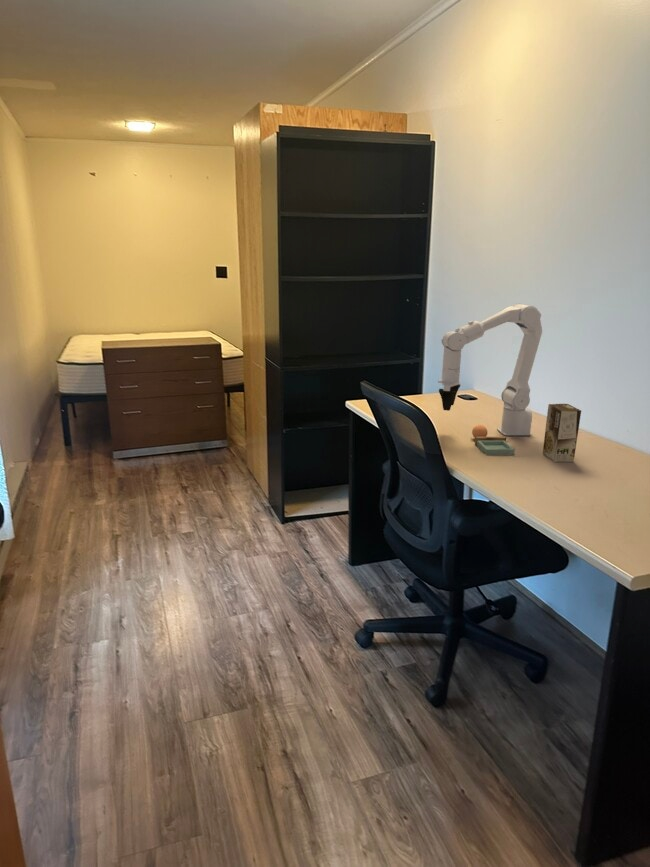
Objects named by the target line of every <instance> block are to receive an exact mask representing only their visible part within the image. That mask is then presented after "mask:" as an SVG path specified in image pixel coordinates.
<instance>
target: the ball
mask: <svg viewBox="0 0 650 867" xmlns="http://www.w3.org/2000/svg"><path fill="white" fill-rule="evenodd" d="M471 434H472V436H473V438H475V437H488V436H487V435H488V429H487V427H486V426H485V425H483V424H478V425H475V426H474V427H472V431H471Z"/></svg>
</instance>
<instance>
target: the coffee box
mask: <svg viewBox="0 0 650 867" xmlns="http://www.w3.org/2000/svg"><path fill="white" fill-rule="evenodd" d="M547 406H548V407H547V415H546V423H545V430H544V431H545V432H544V439H543V448H542V454H543V455H545V456H546V457H548V458H549V459H551V460H552V461H553V462H555V463H558V462H559V463H560V462H562V463H565V462H566V463H567V462H568V463H573V462H574V461H575V457H576V456H575V455H576V449H577V441H578V435H579V428H580V424H581V423H580V420H581V414H582V410H581V409H579V408H577V407H575V406H574V405H571V404H569V403H552V404H551V403H548V405H547Z"/></svg>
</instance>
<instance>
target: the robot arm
mask: <svg viewBox="0 0 650 867" xmlns="http://www.w3.org/2000/svg"><path fill="white" fill-rule="evenodd" d="M541 318H542V314H541V312H540V310H538V308H537V307H535V306H534V305H526V304H522V303H515V304H513V305H512V306H511V305H510V306H507V307H506V308H505V309H503V310H500V311H499V312H497V313H495V314H493V315H491V316H490V317H488V318H485V319H484V320H483V321H480V322H479V321H478V320H469V321H468V322H467V324H465V325H463V326H461V327H456V328H455V331H452V330H451V331H447V332H446V333H444V335H443V336H442V339H441V344H442V346H443V355H442V356H443V357H442V370H441V373H442V374H441V379H438V381H437V382H438V383H439V384H441V385H442V386H443V388H439V389H438V393H439V395H440V398H441V402H442V404H441V405H442V410H443V411H450V410H451V408H452V406H454V405H455V401H456V397H457V393H458V391H459V389H460V387H461V383H460V376H461V375H460V373H461V362H462V361H461V359H462V358H461V357H462V349H464V347H465V346H466V345H467V344H470V343H472V342H474V341H475V340H479V339H480V338H482V337H483V336H484V335H485V332H486V331H488V330H490V329H494V328H497V327H498V326H501V325H503V324H506V323H514V324H516V325H517V326H518V327H519V329H520V330H521V331H522V333H523V337H522V341H521V345H520V349H519V352H518V356H517V359H516V363H515V366H514V370H513V374H512V377H511V379H510V380H509V381H507V382H506V386H505V388H504V389H503V391H502V392H501V395H500V397H501V401H502V402H503V407H502V408H503V409H502V418H501V426H500V427H497V428H496V430H497V431H498V432H500V433H501V434H502V435H503V436H504V437H507V436H509V437H510V436H532V434H531V429H532V422H533V421H532V420H533V412H532V410H531V408H528V406H529V405H530V402H531V401H530V400H531V398H530V397H531V396H530V393H531V388H530V385H529V379H530V376H531V372H532V370H533V366H534V363H535V360H536V355H537V351H538V348H539V345H540V341H541V338H542V334H543V327H542V320H541Z"/></svg>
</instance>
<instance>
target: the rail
mask: <svg viewBox="0 0 650 867" xmlns="http://www.w3.org/2000/svg"><path fill="white" fill-rule="evenodd" d="M507 439H508V438H507V436H486V437H475V439H474V445H475V446H477V441H506V442H507Z"/></svg>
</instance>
